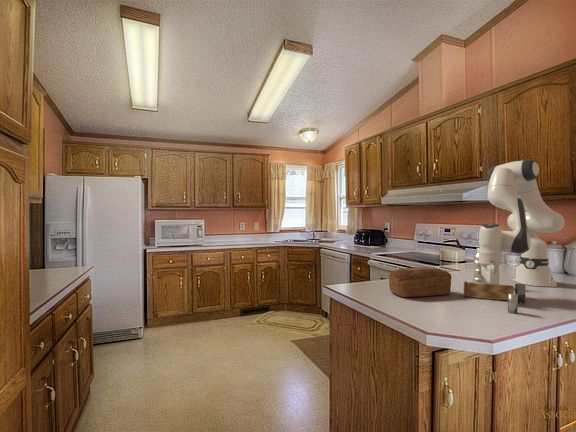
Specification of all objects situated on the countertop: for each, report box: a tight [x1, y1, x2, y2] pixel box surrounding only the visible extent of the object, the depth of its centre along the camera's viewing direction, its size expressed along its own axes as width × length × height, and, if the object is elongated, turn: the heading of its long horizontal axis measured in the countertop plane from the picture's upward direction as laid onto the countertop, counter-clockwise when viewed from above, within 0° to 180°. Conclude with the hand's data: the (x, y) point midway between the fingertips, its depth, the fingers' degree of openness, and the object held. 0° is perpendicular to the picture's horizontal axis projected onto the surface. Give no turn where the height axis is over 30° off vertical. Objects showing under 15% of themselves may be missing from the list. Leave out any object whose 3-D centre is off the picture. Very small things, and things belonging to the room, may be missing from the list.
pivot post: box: [514, 282, 526, 304], centre depth 131 cm, size 4×4×8 cm
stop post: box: [507, 293, 519, 315], centre depth 117 cm, size 3×3×7 cm
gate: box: [463, 280, 515, 301], centre depth 135 cm, size 18×2×6 cm, turn 67°
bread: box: [388, 266, 453, 298], centre depth 143 cm, size 14×28×12 cm, turn 103°
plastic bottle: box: [472, 247, 487, 284], centre depth 158 cm, size 6×7×20 cm
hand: (489, 290), depth 138 cm, fingers closed
